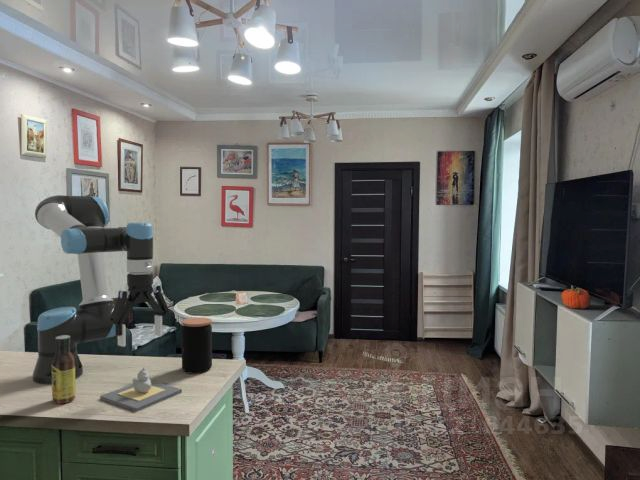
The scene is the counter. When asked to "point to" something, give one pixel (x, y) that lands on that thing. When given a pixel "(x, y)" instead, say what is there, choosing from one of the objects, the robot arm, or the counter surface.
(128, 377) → the counter surface
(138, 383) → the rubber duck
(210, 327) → the coffee jar
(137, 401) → the board
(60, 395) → the sauce bottle
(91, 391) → the counter surface
